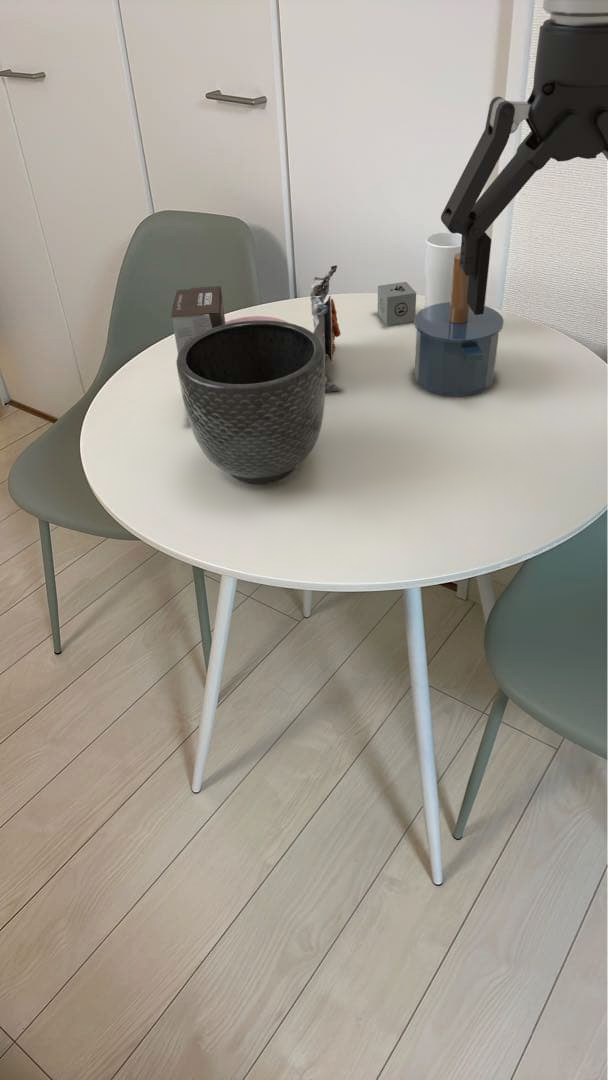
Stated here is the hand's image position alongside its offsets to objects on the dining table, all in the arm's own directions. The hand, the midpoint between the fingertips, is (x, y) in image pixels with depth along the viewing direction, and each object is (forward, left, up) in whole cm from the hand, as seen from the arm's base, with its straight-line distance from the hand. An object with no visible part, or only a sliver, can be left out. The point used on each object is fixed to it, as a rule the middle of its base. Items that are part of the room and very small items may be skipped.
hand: (548, 301), depth 68 cm
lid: (-3, -35, -18) cm, 40 cm away
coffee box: (+33, -34, -27) cm, 54 cm away
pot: (-3, -35, -27) cm, 44 cm away
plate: (+26, -52, -27) cm, 64 cm away
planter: (+27, -18, -27) cm, 42 cm away
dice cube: (+1, -57, -27) cm, 63 cm away
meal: (+15, -42, -27) cm, 52 cm away
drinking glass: (-5, -50, -27) cm, 57 cm away
